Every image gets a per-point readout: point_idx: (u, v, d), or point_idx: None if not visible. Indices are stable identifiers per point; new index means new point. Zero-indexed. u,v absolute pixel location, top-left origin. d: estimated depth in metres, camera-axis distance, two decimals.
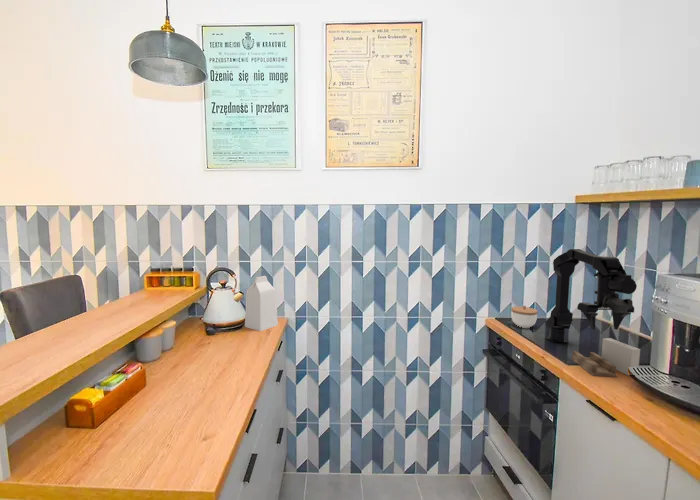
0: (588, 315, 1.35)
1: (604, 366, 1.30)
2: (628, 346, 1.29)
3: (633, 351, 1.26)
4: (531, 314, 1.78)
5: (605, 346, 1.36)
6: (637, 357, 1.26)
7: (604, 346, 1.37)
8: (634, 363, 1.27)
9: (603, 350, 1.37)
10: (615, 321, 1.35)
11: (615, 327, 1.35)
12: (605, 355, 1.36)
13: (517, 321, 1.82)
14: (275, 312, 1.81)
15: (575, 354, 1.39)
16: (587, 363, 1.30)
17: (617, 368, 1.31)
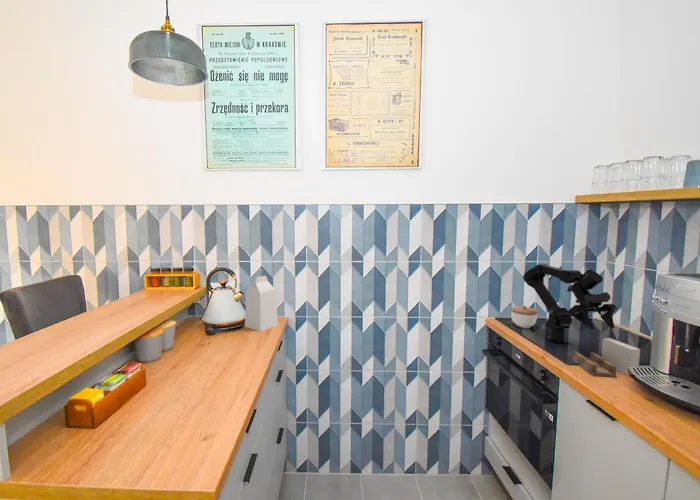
0: (582, 318, 1.42)
1: (604, 366, 1.30)
2: (628, 346, 1.29)
3: (633, 351, 1.26)
4: (531, 314, 1.78)
5: (605, 346, 1.36)
6: (637, 357, 1.26)
7: (604, 346, 1.37)
8: (634, 363, 1.27)
9: (603, 350, 1.37)
10: (608, 322, 1.42)
11: (611, 326, 1.40)
12: (605, 355, 1.36)
13: (517, 321, 1.82)
14: (275, 312, 1.81)
15: (575, 354, 1.39)
16: (587, 363, 1.30)
17: (617, 368, 1.31)
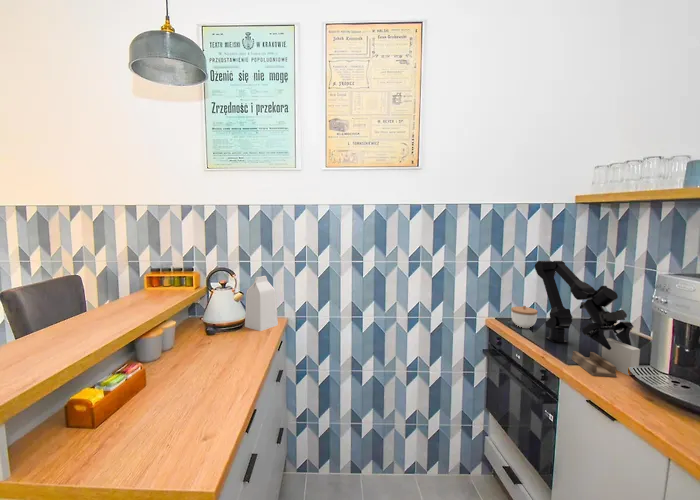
0: (597, 337, 1.35)
1: (604, 366, 1.30)
2: (628, 346, 1.29)
3: (633, 351, 1.26)
4: (531, 314, 1.78)
5: None
6: (637, 357, 1.27)
7: None
8: (634, 363, 1.27)
9: (603, 350, 1.37)
10: (625, 341, 1.35)
11: None
12: (605, 355, 1.36)
13: (517, 321, 1.82)
14: (275, 312, 1.81)
15: (575, 354, 1.39)
16: (587, 363, 1.30)
17: (617, 368, 1.31)
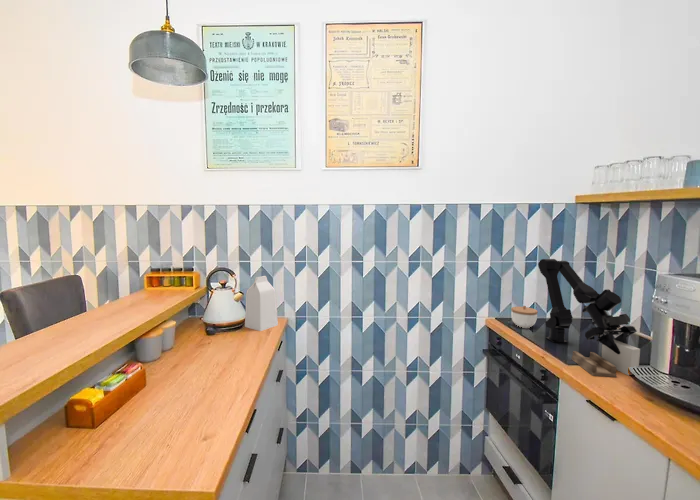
0: (606, 341, 1.34)
1: (604, 366, 1.30)
2: (628, 346, 1.29)
3: (633, 351, 1.26)
4: (531, 314, 1.78)
5: (605, 346, 1.36)
6: (637, 357, 1.26)
7: (604, 346, 1.37)
8: (634, 363, 1.27)
9: (603, 350, 1.37)
10: None
11: None
12: (605, 355, 1.36)
13: (517, 321, 1.82)
14: (275, 312, 1.81)
15: (575, 354, 1.39)
16: (587, 363, 1.30)
17: (617, 368, 1.31)
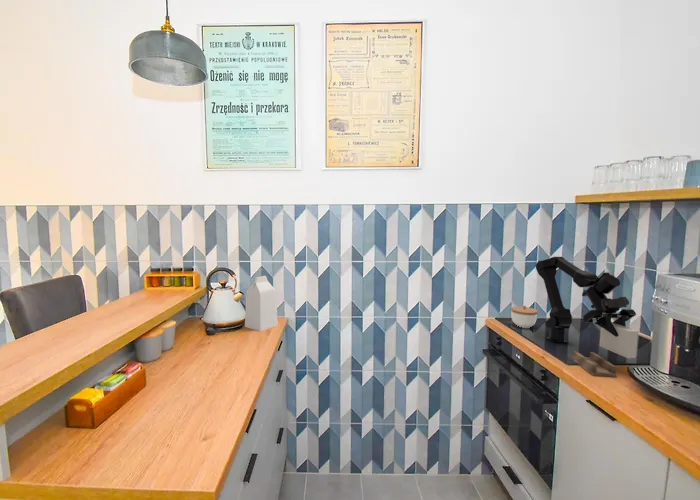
0: (604, 324, 1.34)
1: (604, 366, 1.30)
2: (626, 328, 1.28)
3: (630, 333, 1.25)
4: (531, 314, 1.78)
5: (604, 329, 1.36)
6: (635, 339, 1.26)
7: (603, 329, 1.36)
8: (632, 345, 1.26)
9: (602, 333, 1.37)
10: None
11: None
12: (603, 338, 1.36)
13: (517, 321, 1.82)
14: (275, 312, 1.81)
15: (575, 354, 1.39)
16: (587, 363, 1.30)
17: (615, 350, 1.31)
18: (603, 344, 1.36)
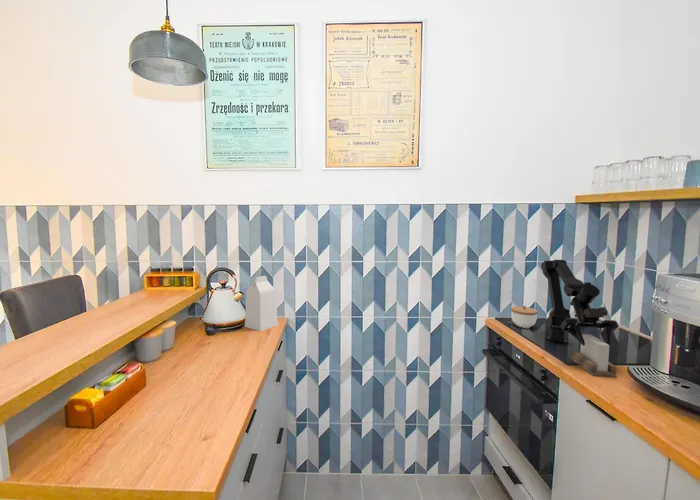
0: (574, 333, 1.36)
1: None
2: (599, 342, 1.30)
3: (600, 346, 1.27)
4: (531, 314, 1.78)
5: None
6: (606, 353, 1.27)
7: None
8: (602, 359, 1.27)
9: (581, 345, 1.38)
10: (605, 339, 1.33)
11: None
12: (582, 350, 1.38)
13: (517, 321, 1.82)
14: (275, 312, 1.81)
15: (575, 354, 1.39)
16: (587, 363, 1.30)
17: None
18: None
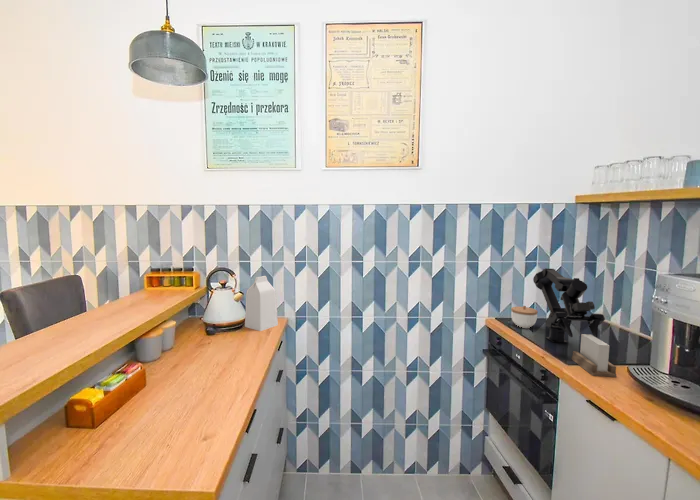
0: (563, 326, 1.45)
1: None
2: (599, 342, 1.30)
3: (600, 346, 1.27)
4: (531, 314, 1.78)
5: (582, 341, 1.38)
6: (606, 353, 1.27)
7: (582, 341, 1.38)
8: (602, 359, 1.27)
9: (581, 345, 1.38)
10: (593, 331, 1.41)
11: (595, 336, 1.40)
12: (582, 350, 1.38)
13: (517, 321, 1.82)
14: (275, 312, 1.81)
15: (575, 354, 1.39)
16: (587, 363, 1.30)
17: None
18: None
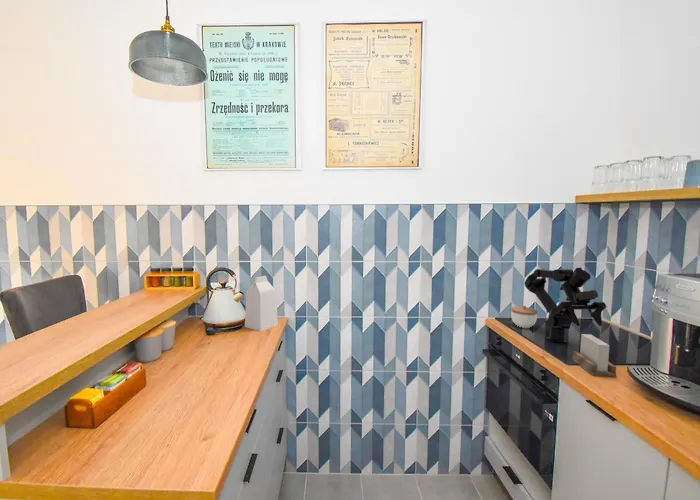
0: (569, 315, 1.46)
1: None
2: (599, 342, 1.30)
3: (600, 346, 1.27)
4: (531, 314, 1.78)
5: (582, 341, 1.38)
6: (606, 353, 1.27)
7: (582, 341, 1.38)
8: (602, 359, 1.27)
9: (581, 345, 1.38)
10: (596, 319, 1.44)
11: (599, 324, 1.43)
12: (582, 350, 1.38)
13: (517, 321, 1.82)
14: (275, 312, 1.81)
15: (575, 354, 1.39)
16: (587, 363, 1.30)
17: None
18: None
